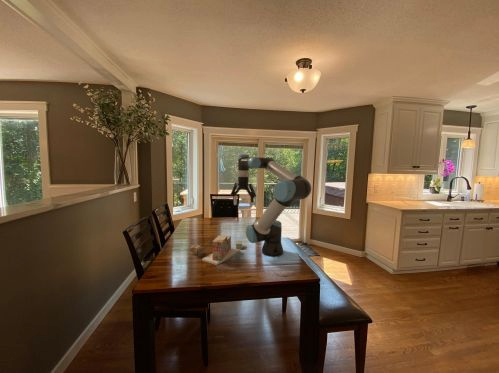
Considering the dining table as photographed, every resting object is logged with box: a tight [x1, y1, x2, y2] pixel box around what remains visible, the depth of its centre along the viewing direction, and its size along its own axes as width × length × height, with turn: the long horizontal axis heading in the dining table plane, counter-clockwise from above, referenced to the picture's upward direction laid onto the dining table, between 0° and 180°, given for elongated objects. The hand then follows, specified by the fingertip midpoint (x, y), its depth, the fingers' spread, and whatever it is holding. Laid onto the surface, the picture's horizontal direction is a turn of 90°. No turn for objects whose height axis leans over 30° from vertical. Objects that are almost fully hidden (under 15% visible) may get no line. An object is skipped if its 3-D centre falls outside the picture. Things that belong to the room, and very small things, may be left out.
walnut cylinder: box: [197, 245, 206, 259], centre depth 152 cm, size 4×4×6 cm
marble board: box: [201, 247, 241, 266], centre depth 154 cm, size 12×26×1 cm, turn 149°
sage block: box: [235, 240, 243, 250], centre depth 170 cm, size 4×7×4 cm, turn 179°
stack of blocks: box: [211, 234, 232, 261], centre depth 154 cm, size 21×6×12 cm, turn 169°
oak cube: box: [189, 244, 201, 256], centre depth 157 cm, size 5×5×5 cm
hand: (243, 205), depth 165 cm, fingers open, 13 cm apart
